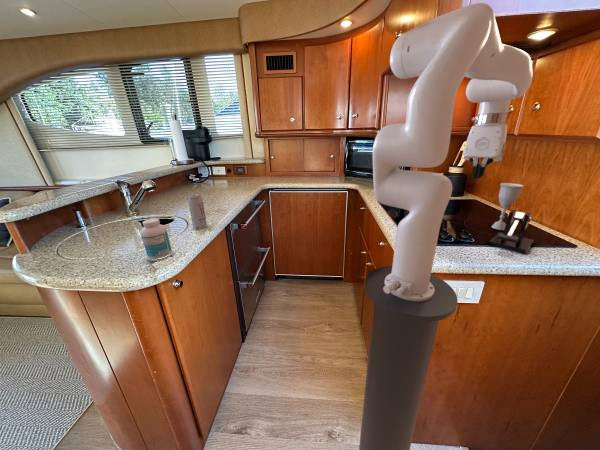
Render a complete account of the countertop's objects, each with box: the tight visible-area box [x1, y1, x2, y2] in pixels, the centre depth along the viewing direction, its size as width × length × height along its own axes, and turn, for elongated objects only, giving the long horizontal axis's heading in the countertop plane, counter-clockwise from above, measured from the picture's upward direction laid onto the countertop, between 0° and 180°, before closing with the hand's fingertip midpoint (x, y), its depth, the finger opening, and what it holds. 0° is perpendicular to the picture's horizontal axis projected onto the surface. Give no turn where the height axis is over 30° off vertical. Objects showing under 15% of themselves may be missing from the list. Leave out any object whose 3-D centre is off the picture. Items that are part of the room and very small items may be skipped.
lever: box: [498, 211, 526, 243], centre depth 79 cm, size 12×5×2 cm, turn 129°
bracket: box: [488, 209, 535, 255], centre depth 82 cm, size 12×10×12 cm
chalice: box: [491, 182, 524, 231], centre depth 95 cm, size 7×7×18 cm
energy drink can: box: [187, 193, 208, 230], centre depth 107 cm, size 6×6×15 cm
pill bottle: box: [140, 218, 173, 262], centre depth 80 cm, size 8×7×14 cm
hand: (477, 177), depth 82 cm, fingers closed
